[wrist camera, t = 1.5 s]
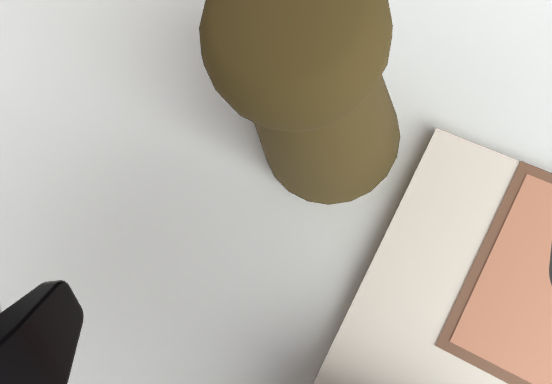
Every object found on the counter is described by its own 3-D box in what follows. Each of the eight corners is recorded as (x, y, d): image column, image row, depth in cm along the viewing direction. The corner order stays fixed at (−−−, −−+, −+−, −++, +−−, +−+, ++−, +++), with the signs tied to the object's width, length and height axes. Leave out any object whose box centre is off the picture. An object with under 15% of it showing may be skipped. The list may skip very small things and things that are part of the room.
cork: (344, 232, 22) (305, 171, 12) (238, 153, 24) (119, 38, 13) (428, 120, 22) (466, -41, 12) (317, 50, 24) (263, -145, 13)
